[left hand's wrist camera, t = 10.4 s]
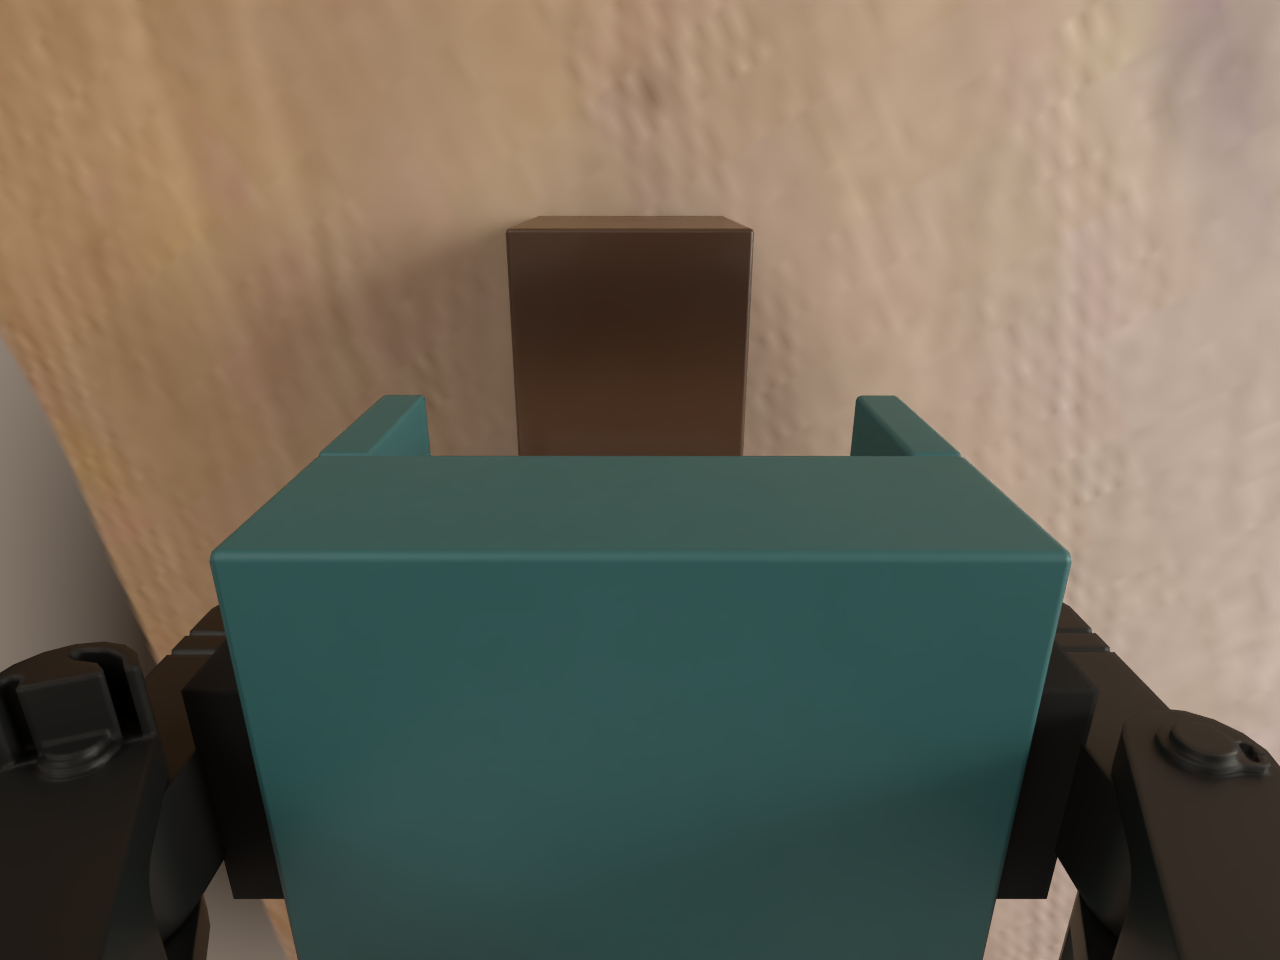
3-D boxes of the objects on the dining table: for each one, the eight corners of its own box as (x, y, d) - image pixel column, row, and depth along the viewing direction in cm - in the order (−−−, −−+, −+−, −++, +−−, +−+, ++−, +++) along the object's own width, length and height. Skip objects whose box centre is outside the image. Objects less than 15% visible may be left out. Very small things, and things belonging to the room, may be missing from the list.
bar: (536, 216, 23) (504, 228, 17) (725, 216, 23) (754, 228, 18) (565, 888, 32) (551, 1037, 27) (700, 887, 32) (714, 1036, 27)
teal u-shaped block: (383, 394, 11) (203, 553, 7) (897, 394, 11) (1078, 554, 7) (425, 737, 13) (311, 1038, 9) (855, 737, 13) (968, 1038, 9)
